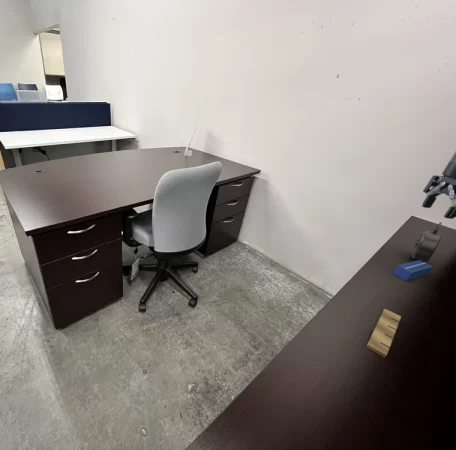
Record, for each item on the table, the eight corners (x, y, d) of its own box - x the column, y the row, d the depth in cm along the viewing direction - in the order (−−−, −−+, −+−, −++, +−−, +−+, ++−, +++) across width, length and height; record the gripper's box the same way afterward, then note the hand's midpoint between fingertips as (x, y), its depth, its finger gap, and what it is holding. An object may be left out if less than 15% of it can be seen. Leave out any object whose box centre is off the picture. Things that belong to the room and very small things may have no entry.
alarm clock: (423, 269, 86) (451, 229, 79) (403, 261, 90) (428, 223, 82) (427, 258, 93) (453, 221, 85) (408, 252, 96) (431, 215, 89)
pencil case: (413, 267, 87) (419, 259, 85) (427, 274, 83) (433, 265, 82) (392, 273, 83) (397, 264, 81) (406, 281, 80) (412, 272, 78)
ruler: (383, 311, 67) (384, 308, 67) (399, 319, 65) (401, 316, 64) (365, 346, 57) (368, 343, 56) (384, 358, 55) (387, 355, 54)
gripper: (511, 169, 63) (471, 223, 71) (461, 158, 75) (431, 205, 83) (478, 166, 64) (442, 220, 72) (434, 156, 77) (407, 203, 84)
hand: (436, 212), depth 77 cm, fingers open, 8 cm apart
